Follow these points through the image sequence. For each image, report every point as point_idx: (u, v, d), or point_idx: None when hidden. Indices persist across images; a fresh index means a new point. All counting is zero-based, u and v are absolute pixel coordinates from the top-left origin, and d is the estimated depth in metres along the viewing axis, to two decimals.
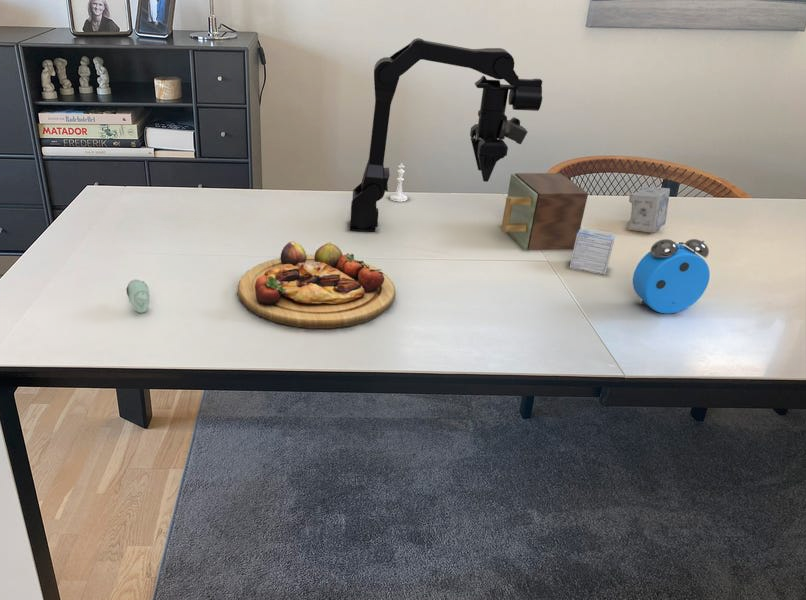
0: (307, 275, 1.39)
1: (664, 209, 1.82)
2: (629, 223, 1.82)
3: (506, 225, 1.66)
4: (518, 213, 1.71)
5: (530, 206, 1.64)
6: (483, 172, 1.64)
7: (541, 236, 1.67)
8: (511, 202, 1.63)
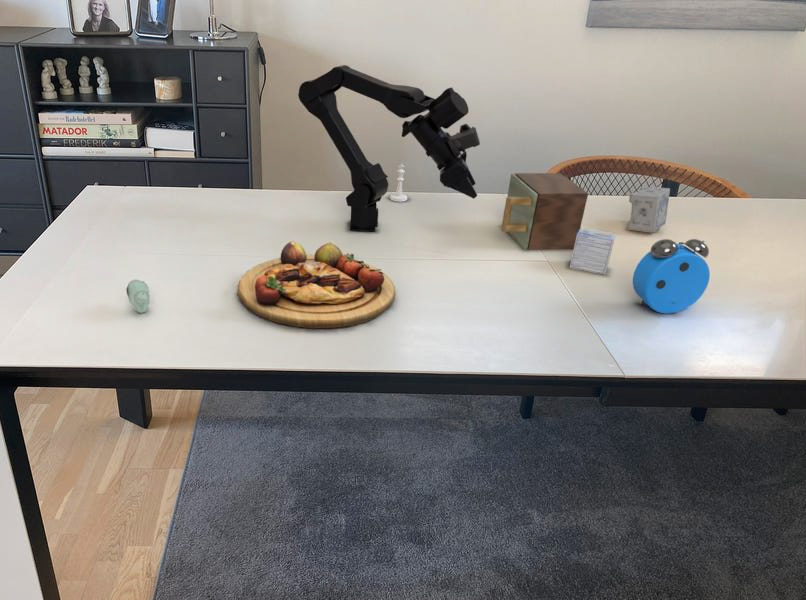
0: (307, 275, 1.39)
1: (664, 209, 1.82)
2: (629, 223, 1.82)
3: (506, 225, 1.66)
4: (518, 213, 1.71)
5: (530, 206, 1.64)
6: (466, 193, 1.58)
7: (541, 236, 1.67)
8: (511, 202, 1.63)
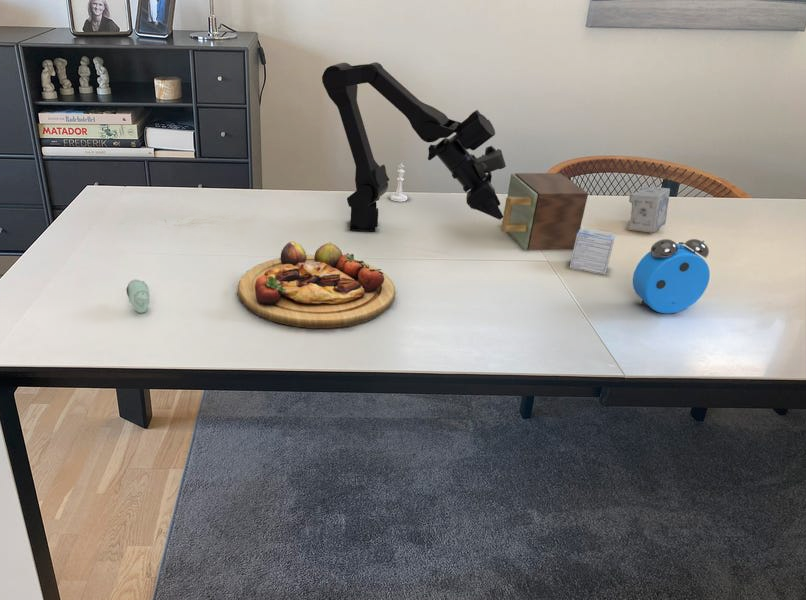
0: (307, 275, 1.39)
1: (664, 209, 1.82)
2: (629, 223, 1.82)
3: (506, 225, 1.66)
4: (518, 213, 1.71)
5: (530, 206, 1.64)
6: (492, 214, 1.60)
7: (541, 236, 1.67)
8: (511, 202, 1.63)
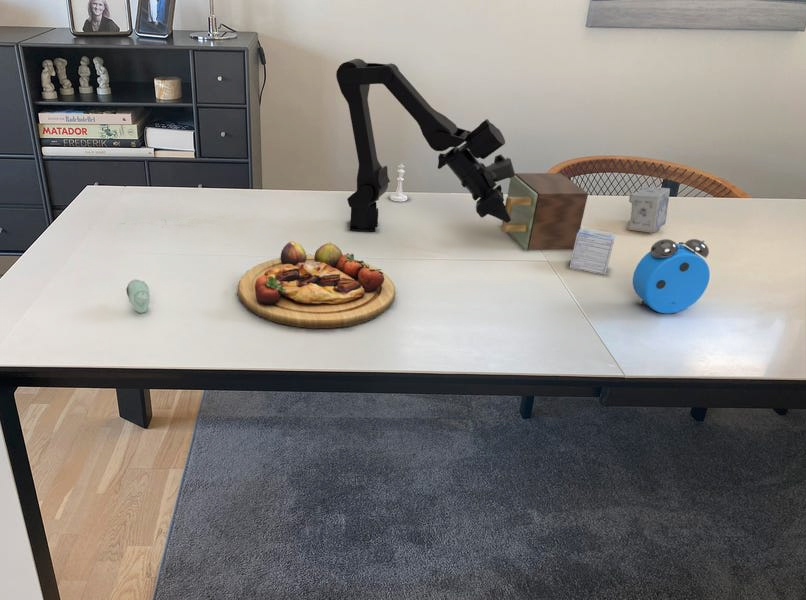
0: (307, 275, 1.39)
1: (664, 209, 1.82)
2: (629, 223, 1.82)
3: (506, 225, 1.66)
4: (518, 213, 1.71)
5: (530, 206, 1.64)
6: (500, 217, 1.64)
7: (541, 236, 1.67)
8: (511, 202, 1.63)
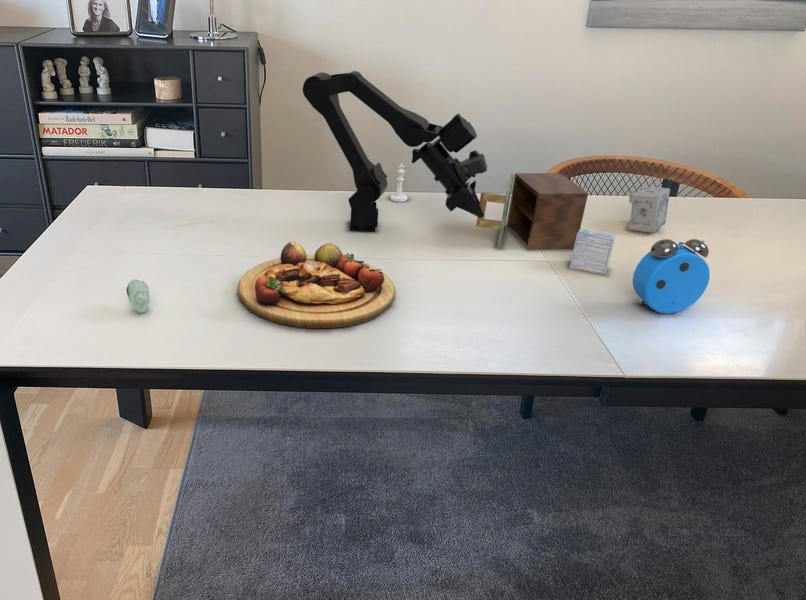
0: (307, 275, 1.39)
1: (664, 209, 1.82)
2: (629, 223, 1.82)
3: (480, 220, 1.68)
4: None
5: (504, 204, 1.64)
6: (472, 212, 1.66)
7: (541, 236, 1.67)
8: (484, 198, 1.65)
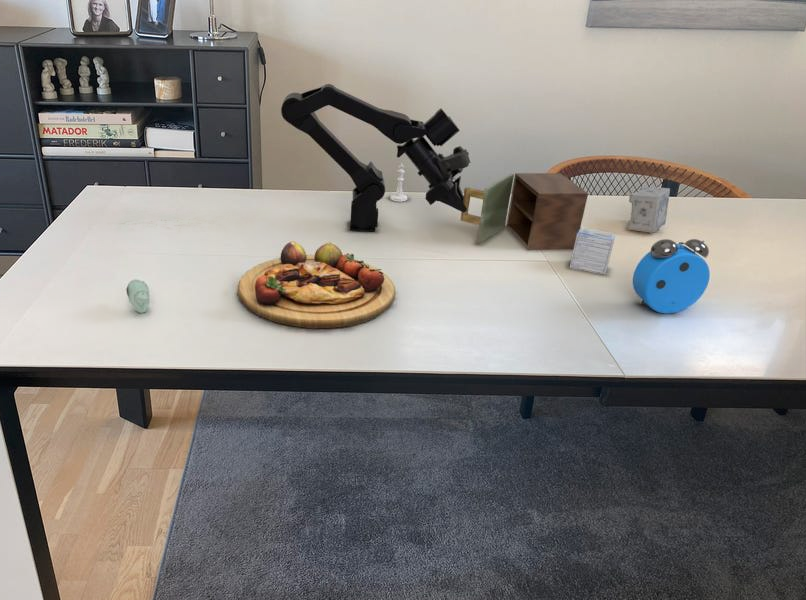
0: (307, 275, 1.39)
1: (664, 209, 1.82)
2: (629, 223, 1.82)
3: (463, 214, 1.71)
4: None
5: None
6: (455, 207, 1.69)
7: (541, 236, 1.67)
8: (467, 192, 1.68)
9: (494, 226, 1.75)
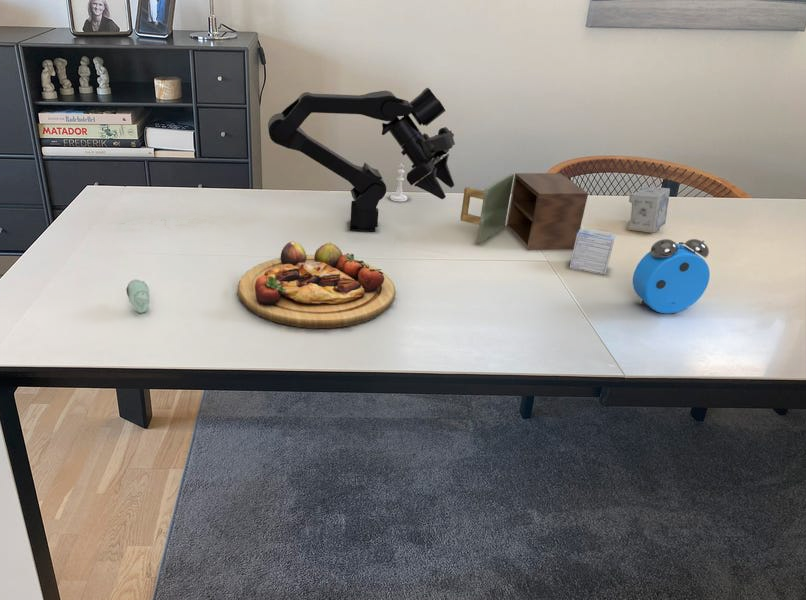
0: (307, 275, 1.39)
1: (664, 209, 1.82)
2: (629, 223, 1.82)
3: (463, 214, 1.71)
4: None
5: None
6: (434, 193, 1.65)
7: (541, 236, 1.67)
8: (467, 192, 1.68)
9: (494, 226, 1.75)
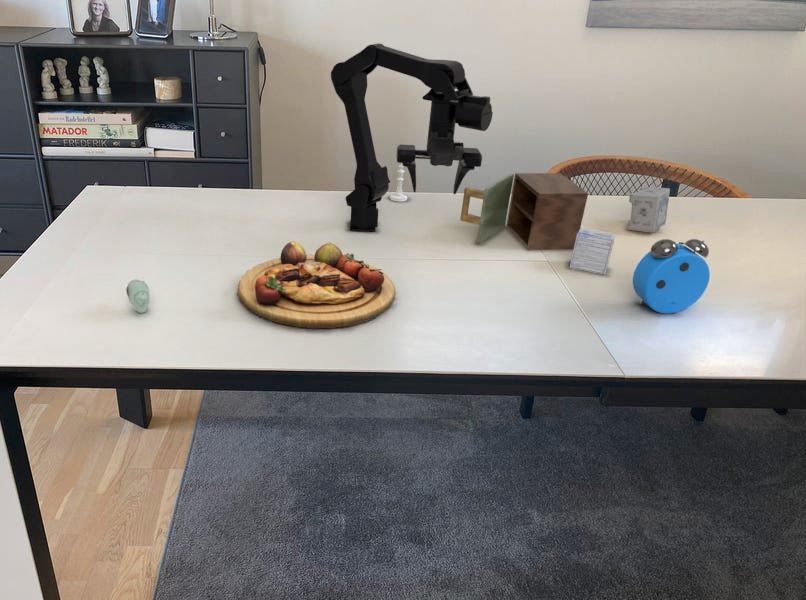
0: (307, 275, 1.39)
1: (664, 209, 1.82)
2: (629, 223, 1.82)
3: (463, 214, 1.71)
4: None
5: None
6: None
7: (541, 236, 1.67)
8: (467, 192, 1.68)
9: (494, 226, 1.75)
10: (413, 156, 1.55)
